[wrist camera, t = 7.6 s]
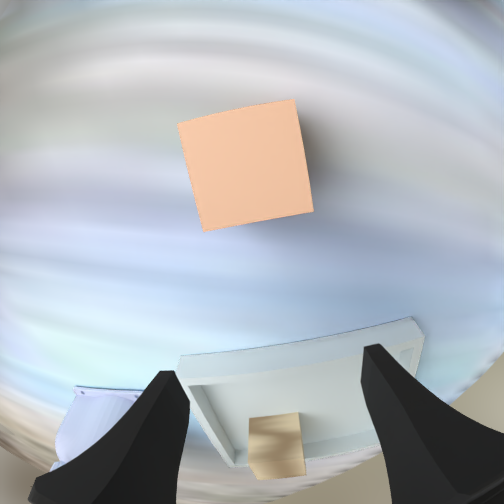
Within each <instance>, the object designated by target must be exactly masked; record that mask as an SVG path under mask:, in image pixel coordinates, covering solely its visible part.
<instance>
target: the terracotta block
mask: <svg viewBox="0 0 504 504" xmlns="http://www.w3.org/2000/svg"><path fill="white" fill-rule="evenodd" d="M177 126H178V130H179V135H180V139H181V143H182V148H183V152H184V156H185V161H186V165H187V169H188V173H189V177H190V181H191V185H192V189H193V193H194V197H195V201H196V205H197V209H198V213H199V217H200V221H201V224H202V228H203V232H206V231H211V230H216V229H221V228H227V227H232V226H237V225H242V224H248V223H253V222H258V221H264V220H269V219H275V218H280V217H286V216H292V215H297V214H303V213H309V212H314V209H313V202H312V195H311V189H310V182H309V176H308V170H307V164H306V158H305V152H304V147H303V141H302V136H301V130H300V125H299V120H298V115H297V110H296V105H295V100H294V99H291V100H284V101H277V102H271V103H265V104H259V105H254V106H248V107H243V108H238V109H233V110H229V111H224V112H220V113H216V114H211V115H207V116H203V117H199V118H196V119H192V120H188V121H184V122H181V123H177Z"/></svg>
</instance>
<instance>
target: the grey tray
mask: <svg viewBox="0 0 504 504" xmlns="http://www.w3.org/2000/svg"><path fill="white" fill-rule="evenodd" d="M424 338H425V335H424V334H423V333H422V331H421V330H420V328H419V327H418V325H417V324H416V322H415V321H414V320H413V318H412V317H408V318H404V319H400V320H397V321H393V322H389V323H385V324H381V325H377V326H373V327H369V328H364V329H360V330H356V331H351V332H346V333H342V334H337V335H332V336H327V337H322V338H316V339H311V340H305V341H300V342H294V343H288V344H281V345H275V346H268V347H261V348H253V349H246V350H237V351H229V352H219V353H209V354H198V355H185V356H180V359H179V362H178V366H177V369H176V372H175V374H176V376H177V378H178V380H179V382H180V384H181V385H182V387H183V389H184V391H185V393H186V395H187V397H188V399H189V400H190V409H191V410H192V412H193V414H194V415H195V417H196V419H197V420H198V422H199V423H200V425H201V427H202V428H203V430H204V431H205V433H206V435H207V436H208V438H209V439H210V441H211V442H212V444H213V445H214V447H215V448H216V450H217V451H218V453H219V454H220V456H221V457H222V458H223V460H224V461H225V463H226V464H227V465H228V467H229V468H240V467H250V466H249V465H248V436H249V418H254V417H264V416H272V415H280V414H287V413H294V412H298V414H299V420H300V426H301V432H302V440H303V448H304V457H305V461H312V460H318V459H323V458H329V457H334V456H339V455H343V454H348V453H352V452H356V451H360V450H364V449H368V448H372V447H375V446H379V445H380V442H379V439H378V436H377V434H376V431H375V428H374V425H373V423H372V420H371V417H370V414H369V412H368V409H367V406H366V403H365V399H364V395H363V391H362V387H361V382H360V380H361V371H362V361H363V350H364V346H369V345H373V344H377V343H380V344H381V345H382V346H383V347H384V348H385V349H386V350H387V351H388V352H389V353H390V354H391V355H392V356H393V357H394V359H395V360H396V361H397V362H398V363H399V364H400V365H401V366H402V367H403V368H405V369H406V370H407V371H408V372H409V373H410V374H411V375H412V376H413V377H414V378H415V375H416V371H417V368H418V364H419V360H420V356H421V352H422V347H423V343H424Z"/></svg>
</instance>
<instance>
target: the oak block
mask: <svg viewBox="0 0 504 504" xmlns="http://www.w3.org/2000/svg"><path fill="white" fill-rule="evenodd" d="M248 465H249V466H250V468H251V470H252V471H253V473H254V475H255V476H256V478H257V479H258V480H267V479H279V478H288V477H296V476H304V475H306V467H305V457H304V448H303V440H302V432H301V426H300V420H299V414H298V412H294V413H287V414H280V415H272V416H264V417H254V418H249V436H248Z"/></svg>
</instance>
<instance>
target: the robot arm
mask: <svg viewBox="0 0 504 504" xmlns="http://www.w3.org/2000/svg"><path fill="white" fill-rule="evenodd" d="M360 382H361V387H362V391H363V395H364V399H365V403H366V406H367V409H368V412H369V414H370V417H371V420H372V423H373V425H374V428H375V431H376V434H377V436H378V439H379V442H380V445H381V448H382V451H383V454H384V458H385V462H386V467H387V473H388V478H389V484H390V491H391V498H392V504H504V433H501V432H498V431H496V430H493V429H491V428H488V427H486V426H484V425H482V424H480V423H478V422H476V421H474V420H472V419H470V418H468V417H467V416H465V415H463V414H461V413H460V412H458V411H457V410H455V409H453V408H452V407H450V406H449V405H448V404H446V403H445V402H443V401H442V400H440V399H439V398H438V397H437V396H435V395H434V394H433V393H432V392H430V391H429V390H428V389H427V388H425V387H424V386H423V385H422V384H421V383H420V382H418V381H417V380H416V379H415V378H414V377H413V376H412V375H411V374H410V373H409V372H408V371H407V370H406V369H405V368H403V367H402V366H401V365H400V364H399V363H398V362H397V361H396V360H395V359H394V357H393V356H392V355H391V354H390V353H389V352H388V351H387V350H386V349H385V348H384V347H383V346H382V345H381V344H380V343H377V344H373V345H369V346H364V350H363V361H362V371H361V380H360ZM73 391H74V393H75V394H76V397H75V399H74V401H73V402H72V404H71V406H70V408H69V410H68V412H67V414H66V416H65V418H64V420H63V422H62V424H61V426H60V428H59V430H58V432H57V434H56V440H55V447H56V453H57V455H58V458H59V459H60V462H54V464H53V466H52V468H51V470H50V472H48V473H46V474H44V475H42V476H39V477H37V478H36V480H35V482H34V485H33V487H32V490H31V492H30V495H29V497H28V501H29V502H30V503H32V504H176V491H177V478H178V471H179V466H180V461H181V456H182V452H183V447H184V443H185V438H186V434H187V429H188V424H189V414H190V400H189V399H188V397H187V395H186V393H185V391H184V389H183V387H182V385H181V384H180V382H179V380H178V378H177V376H176V374H175V372H174V371H159V373H158V374H157V375H156V376H155V378H154V379H153V380H152V381H151V383H150V384H149V385H148V386H147V388H146V389H145V390H144V391H126V390H108V389H95V388H84V387H74V388H73Z"/></svg>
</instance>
